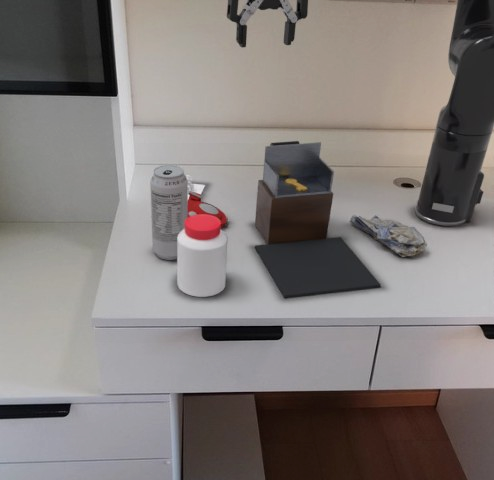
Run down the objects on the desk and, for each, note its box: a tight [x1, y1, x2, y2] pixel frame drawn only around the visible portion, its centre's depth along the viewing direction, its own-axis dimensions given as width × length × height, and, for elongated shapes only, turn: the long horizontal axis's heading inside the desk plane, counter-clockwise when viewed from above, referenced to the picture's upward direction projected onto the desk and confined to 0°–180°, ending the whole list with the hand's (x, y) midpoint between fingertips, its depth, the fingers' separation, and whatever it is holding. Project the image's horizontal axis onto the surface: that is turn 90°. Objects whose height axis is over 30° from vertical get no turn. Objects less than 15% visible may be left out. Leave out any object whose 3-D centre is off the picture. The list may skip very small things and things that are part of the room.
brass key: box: [285, 179, 308, 191], centre depth 107 cm, size 5×2×1 cm, turn 31°
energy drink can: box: [149, 164, 188, 261], centre depth 102 cm, size 6×6×15 cm
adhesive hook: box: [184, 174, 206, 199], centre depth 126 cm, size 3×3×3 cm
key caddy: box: [262, 140, 335, 198], centre depth 107 cm, size 12×10×6 cm
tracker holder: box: [188, 191, 228, 229], centre depth 115 cm, size 12×4×10 cm
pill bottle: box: [176, 214, 229, 298], centre depth 95 cm, size 8×8×11 cm
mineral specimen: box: [349, 214, 428, 258], centre depth 109 cm, size 15×8×4 cm, turn 16°
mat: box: [254, 236, 382, 299], centre depth 103 cm, size 16×16×1 cm
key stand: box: [254, 179, 334, 244], centre depth 110 cm, size 8×11×9 cm
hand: (265, 45), depth 112 cm, fingers open, 8 cm apart
